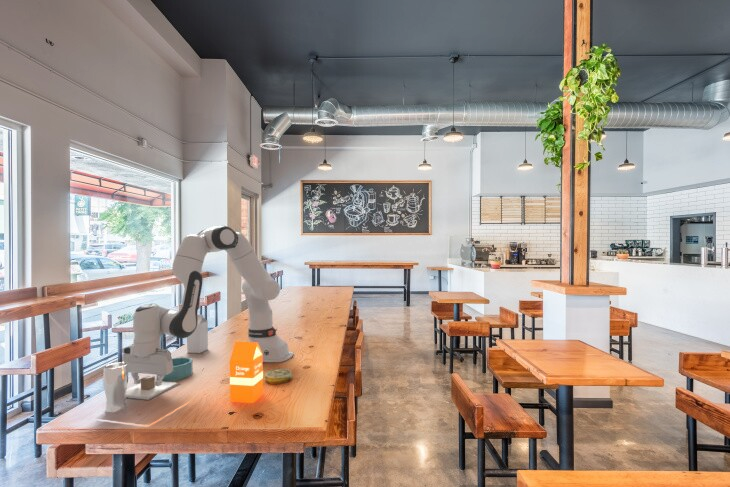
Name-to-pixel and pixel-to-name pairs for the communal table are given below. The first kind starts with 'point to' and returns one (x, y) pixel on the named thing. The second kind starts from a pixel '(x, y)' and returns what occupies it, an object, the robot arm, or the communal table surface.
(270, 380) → the decorated donut
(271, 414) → the communal table surface
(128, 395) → the lid
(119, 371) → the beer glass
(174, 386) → the mat
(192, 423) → the communal table surface
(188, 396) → the communal table surface
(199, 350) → the milk carton
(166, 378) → the bowl
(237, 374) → the orange juice
